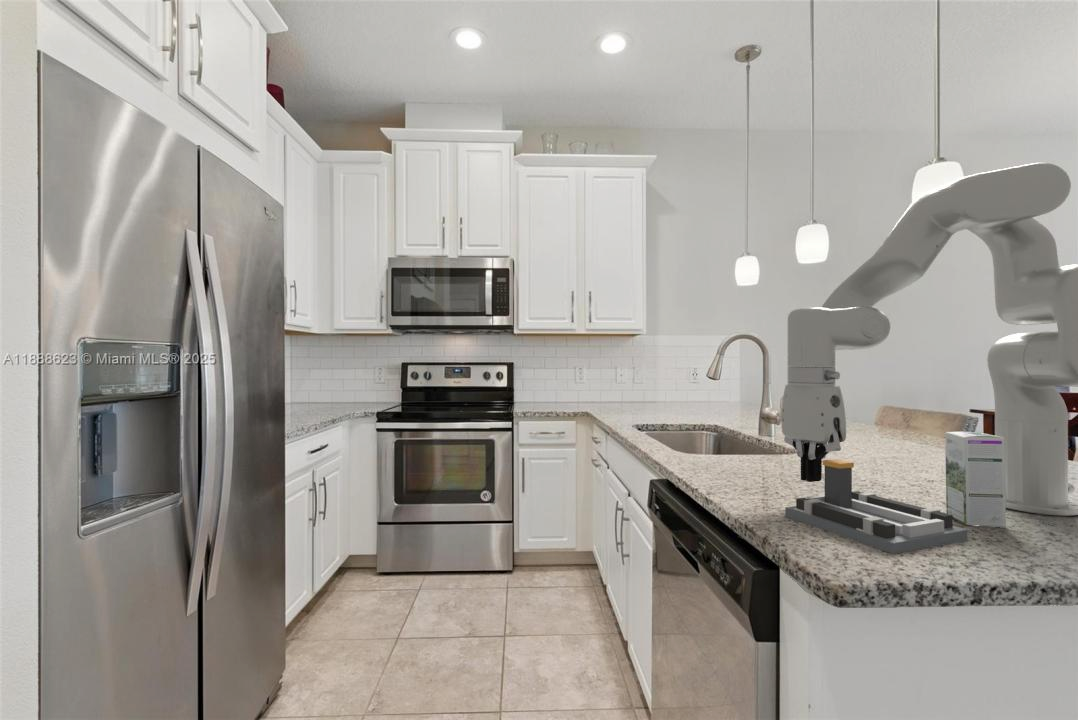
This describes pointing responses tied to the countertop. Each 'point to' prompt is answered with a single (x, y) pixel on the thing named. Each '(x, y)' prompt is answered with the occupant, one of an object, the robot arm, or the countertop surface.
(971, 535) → the countertop surface
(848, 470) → the toggle knob
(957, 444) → the syrup box
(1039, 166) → the robot arm
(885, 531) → the pair of dark rails
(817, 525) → the breaker panel
